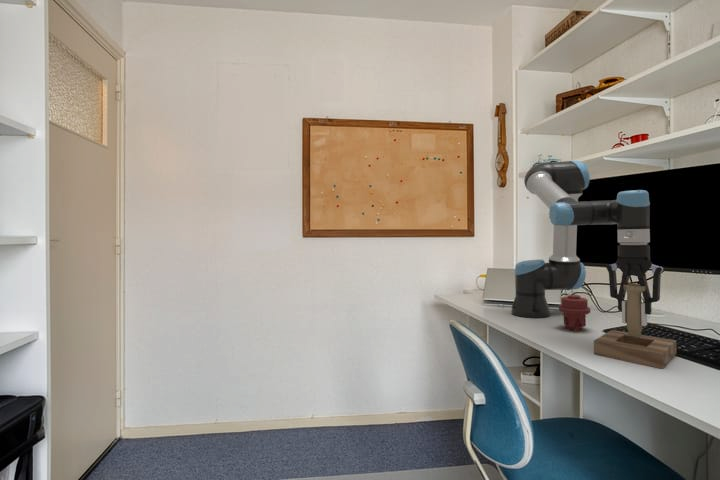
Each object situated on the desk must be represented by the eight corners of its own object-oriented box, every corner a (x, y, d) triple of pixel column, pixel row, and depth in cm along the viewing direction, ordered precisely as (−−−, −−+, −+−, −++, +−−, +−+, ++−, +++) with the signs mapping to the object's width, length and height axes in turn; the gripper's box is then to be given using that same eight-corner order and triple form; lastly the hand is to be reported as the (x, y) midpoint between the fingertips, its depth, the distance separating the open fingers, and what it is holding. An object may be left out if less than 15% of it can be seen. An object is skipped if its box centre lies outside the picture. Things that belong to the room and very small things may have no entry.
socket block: (611, 342, 118) (611, 329, 118) (676, 354, 106) (676, 340, 106) (594, 354, 108) (593, 340, 108) (662, 368, 96) (662, 353, 95)
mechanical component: (584, 325, 138) (595, 333, 128) (555, 325, 140) (564, 332, 130) (583, 293, 138) (595, 298, 128) (554, 293, 140) (563, 298, 130)
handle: (632, 339, 104) (632, 286, 103) (619, 332, 110) (618, 283, 110) (651, 339, 103) (650, 286, 103) (636, 332, 110) (635, 283, 109)
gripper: (595, 244, 110) (596, 321, 111) (668, 244, 97) (669, 331, 98) (604, 243, 115) (605, 316, 115) (674, 243, 102) (675, 326, 102)
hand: (634, 323), depth 107 cm, fingers closed on handle, 4 cm apart
